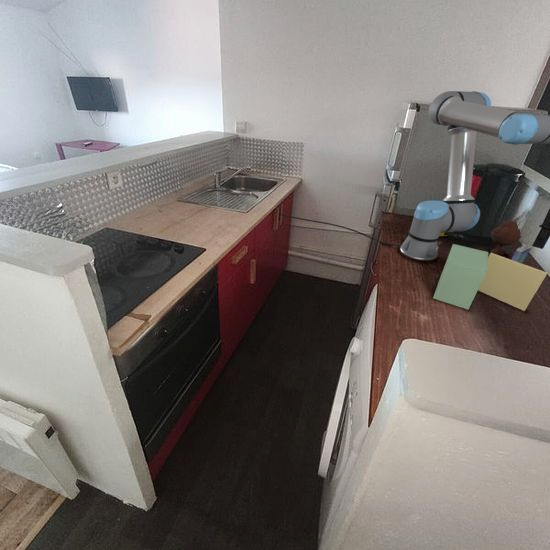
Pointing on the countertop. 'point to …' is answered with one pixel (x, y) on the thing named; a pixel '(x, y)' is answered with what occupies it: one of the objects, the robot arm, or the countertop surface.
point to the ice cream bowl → (505, 236)
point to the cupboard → (461, 276)
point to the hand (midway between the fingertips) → (537, 246)
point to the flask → (521, 253)
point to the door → (511, 281)
